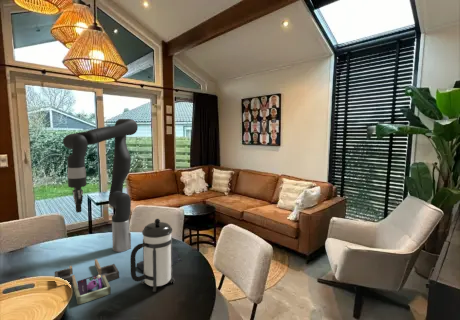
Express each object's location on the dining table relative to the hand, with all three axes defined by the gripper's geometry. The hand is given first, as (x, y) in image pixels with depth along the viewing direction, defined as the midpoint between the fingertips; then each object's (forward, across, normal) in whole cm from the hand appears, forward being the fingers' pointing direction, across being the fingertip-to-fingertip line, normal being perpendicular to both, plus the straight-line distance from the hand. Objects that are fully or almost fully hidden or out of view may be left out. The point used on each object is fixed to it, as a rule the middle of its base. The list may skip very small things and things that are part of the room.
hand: (78, 211), depth 125 cm
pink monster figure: (+29, -22, 0) cm, 37 cm away
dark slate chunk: (+30, -16, -34) cm, 48 cm away
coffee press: (+29, -34, -25) cm, 51 cm away
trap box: (+29, -15, -1) cm, 33 cm away
